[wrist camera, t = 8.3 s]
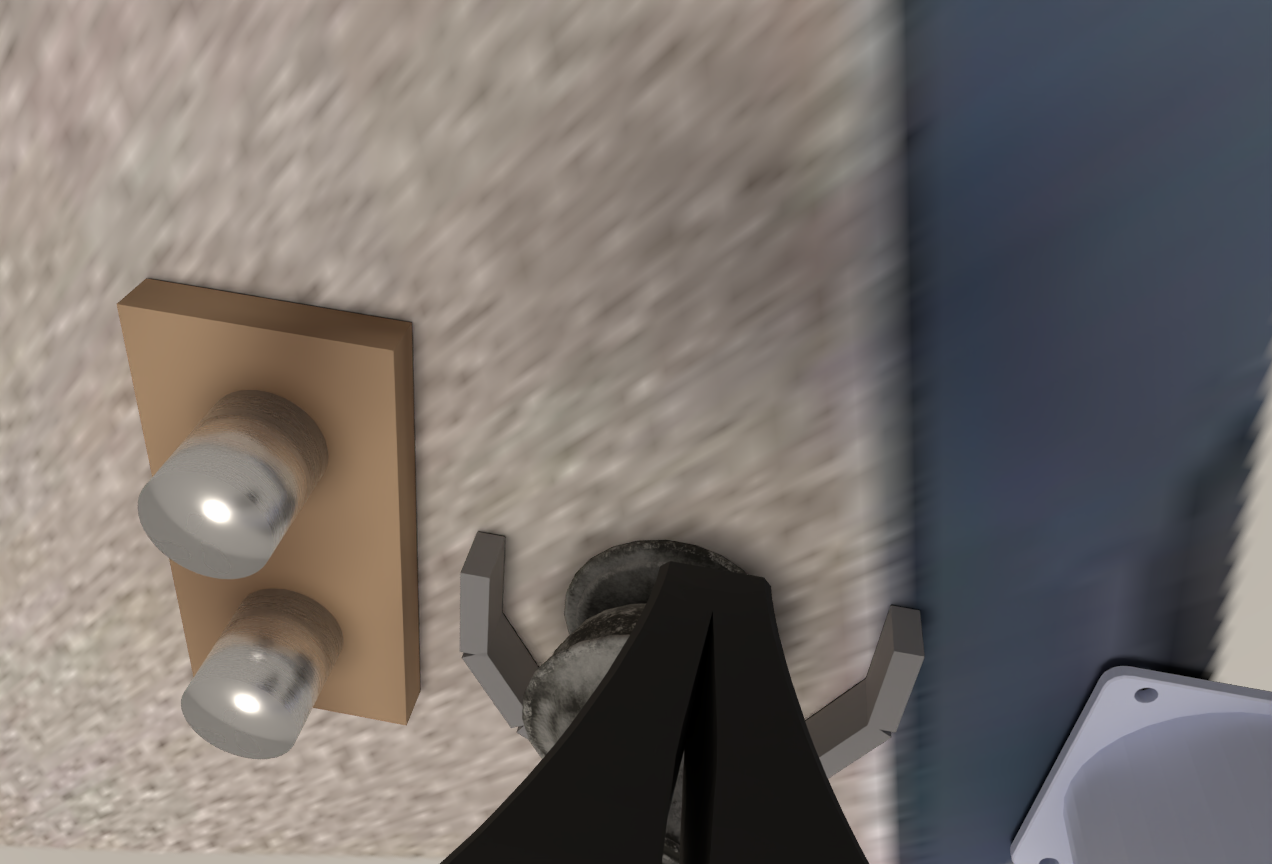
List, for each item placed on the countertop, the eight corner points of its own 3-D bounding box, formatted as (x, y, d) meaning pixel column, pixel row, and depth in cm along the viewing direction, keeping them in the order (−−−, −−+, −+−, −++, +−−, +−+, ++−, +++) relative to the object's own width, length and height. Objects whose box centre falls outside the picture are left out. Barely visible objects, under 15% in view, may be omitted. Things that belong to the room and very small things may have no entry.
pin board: (411, 322, 23) (340, 433, 20) (419, 691, 30) (367, 820, 27) (146, 278, 23) (30, 379, 20) (215, 653, 30) (138, 775, 27)
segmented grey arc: (919, 610, 26) (924, 657, 24) (856, 784, 29) (857, 831, 28) (477, 531, 26) (460, 572, 25) (473, 712, 30) (458, 755, 29)
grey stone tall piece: (535, 663, 29) (385, 1165, 19) (578, 502, 25) (423, 1014, 15) (745, 722, 29) (703, 1250, 19) (816, 569, 25) (810, 1119, 16)
